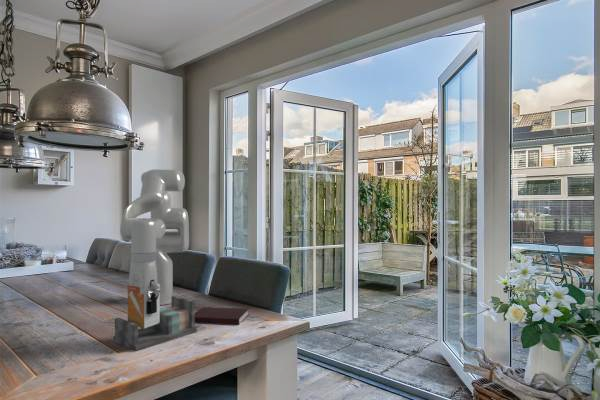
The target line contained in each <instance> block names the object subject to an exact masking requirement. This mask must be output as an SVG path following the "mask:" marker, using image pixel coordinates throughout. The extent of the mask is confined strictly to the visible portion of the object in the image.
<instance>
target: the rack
mask: <svg viewBox="0 0 600 400" xmlns="http://www.w3.org/2000/svg"><path fill="white" fill-rule="evenodd" d="M195 303H196V302H195V300H192V299H189V298H186V297H185V298H184V297H181V296H177V295H173V296H172V303H171V306H169V307H167V308H165V307H160V323H158V324H156V325H153V326H150V327H147V328H141V327H140V328H139V327H138V324H135V323H132V322H129V321H128V319H127V320H126V319H124V318H121V317H115V318H114V335H113V336H112V337H113V339H112V341H113V342H115V343H116V344H120V345H121V346H123V347H126V348H128V349H130V350H132V351H135V352H138V351H141V350H144V349H147V348H150V347H154V346H156V345H160V344H163V343H166V342H169V341H171V340H174V339H178V338H181V337H184V336H188V335H190V334H193V333H196V332H197V326H195V325H196V324H195V312H196V309H195V307H196V306H195Z"/></svg>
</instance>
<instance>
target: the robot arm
mask: <svg viewBox="0 0 600 400" xmlns="http://www.w3.org/2000/svg"><path fill="white" fill-rule="evenodd" d="M140 181H141V188H140V189H141V190H140V196H139V197H136V199H135V200H133V201H131V202H130V203H129V204H128V205H127V206H126V207H125V208H124V211H123V213H122V218H121V222H120V226H119V233H120V236H121V237H122V239H123V240H125V241H130V245H131V246H130V251H131V252H130V253H131V255H130V257H131V258H130V259H131V261H130V267H129V272H128V275H129V277H128V285H130V284H131V285H135V286H138V287H140V294H142V295H145V294H146V293H147V299H148V302H147V314H152V313H156V312H157V300H158V296H159V292H160V306H163V305H169V304H172V296H174V294H173V293H174V291H173V288H174V286H173V283H174V281H173V279H174V278H173V276H174V275H173V273H174V272H173V269H174V266H173V263H174V262H173V260H172V258H171V257H170V256H169V255H168V254H169V253H185V252H187V251H188V249H189V246H190V229H189V227H190V224H189V223H190V220H189V213H188V211H187V209H186V208H183V207H172V205H171V204H172V201H171V200H172V199H171V195H170V194H169V192H182V191H183V190H184V188H185V185H186V178H185V175H184V173H183V172H182V171H180V170H178V169H157V168H156V169H151V170H150V169H149V170H147V171H145V172H143V173H142V174H141V176H140ZM147 213H150V217H149V218H146V217H143V218H141V217H140V216H141V215H144V214H147ZM137 217H139V218H137ZM166 230H171V231H166ZM172 230H174V231H172ZM175 230H177V231H175ZM157 284H160V288H159V287H158V285H157ZM150 286H151V287H152V288H153V291H149V289H150ZM148 291H149V292H148ZM150 294H152V296H151V297H150Z"/></svg>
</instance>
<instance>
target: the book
mask: <svg viewBox="0 0 600 400" xmlns="http://www.w3.org/2000/svg"><path fill="white" fill-rule="evenodd" d="M249 310H250V309H249V308H245V307H244V308H240V307H239V308H238V307H237V308H236V307H213V306H212V307H207V306H206V307H205V306H204V307H202V308H200V309H198V310H197V311H195V323H198V324H213V325H214V324H215V325H216V324H217V325H231V326H232V325H233V326H240V324H241V323H243V322H244V321H245V320H246V319H247V318H248V317H249Z"/></svg>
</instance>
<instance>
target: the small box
mask: <svg viewBox="0 0 600 400" xmlns="http://www.w3.org/2000/svg"><path fill="white" fill-rule="evenodd" d="M157 285H158V287H159V288H160V284H157ZM149 291H153V288H152V287H151V286H150V289H149ZM149 291H148V292H149ZM151 296H152V294H150V297H151ZM147 302H148V299H147V293H146V294H145V295H142V294H140V287H138V286H135V285H131V284H130V285H129V284H127V321H129V322H132V323H135V324H138V328H140V329H141V328H147V327H150V326H153V325H156V324H158V323H160V308H161V305H160V292H159V296H158V300H157V312H156V313H152V314H147Z"/></svg>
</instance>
